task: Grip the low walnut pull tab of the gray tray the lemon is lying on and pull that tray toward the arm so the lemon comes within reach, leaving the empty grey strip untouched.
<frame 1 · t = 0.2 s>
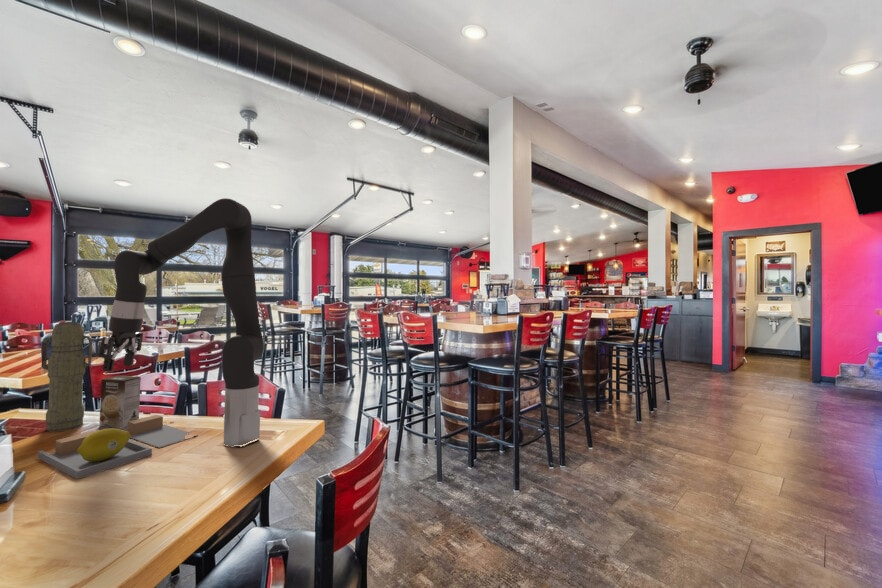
hand: (118, 368, 109), 22 cm above the table, tool pointing down, fingers open, 8 cm apart
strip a: (159, 429, 115), point 2 cm above the table, slide at 0.0 cm
lemon: (104, 459, 97), resting on gray tray
thermos: (64, 427, 121), on the table
gray tray: (95, 449, 99), point 2 cm above the table, slide at 0.0 cm, touching lemon
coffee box: (119, 424, 124), on the table
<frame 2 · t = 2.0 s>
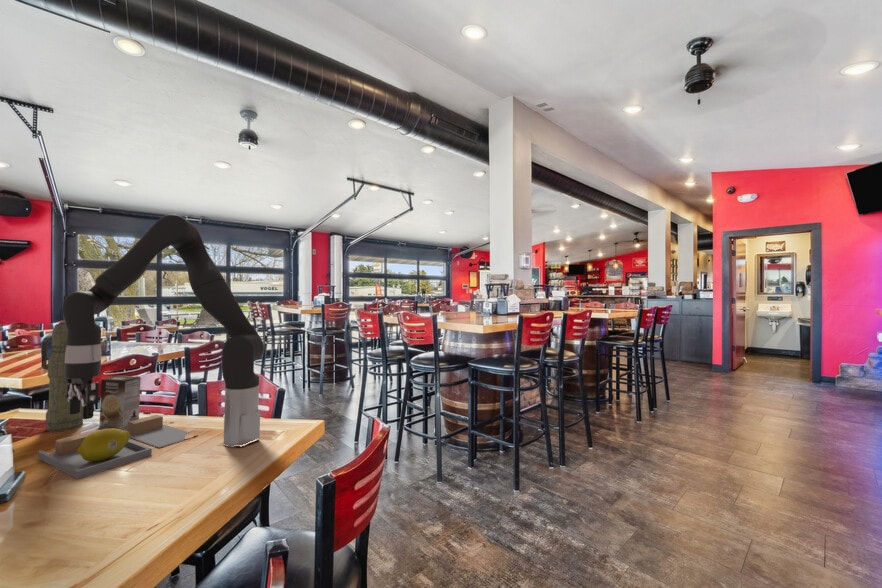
hand: (80, 416, 104), 10 cm above the table, tool pointing down, fingers open, 8 cm apart
nothing on the table moved.
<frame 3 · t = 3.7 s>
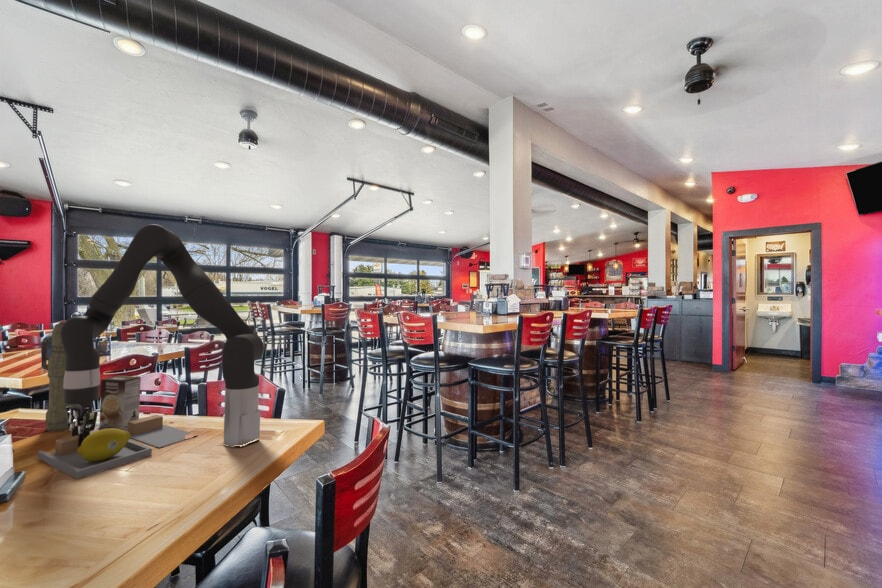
hand: (80, 444, 104), 2 cm above the table, tool pointing down, fingers closed on gray tray, 4 cm apart
gray tray: (95, 449, 99), point 2 cm above the table, slide at 0.0 cm, touching gripper, lemon
everything else where it was.
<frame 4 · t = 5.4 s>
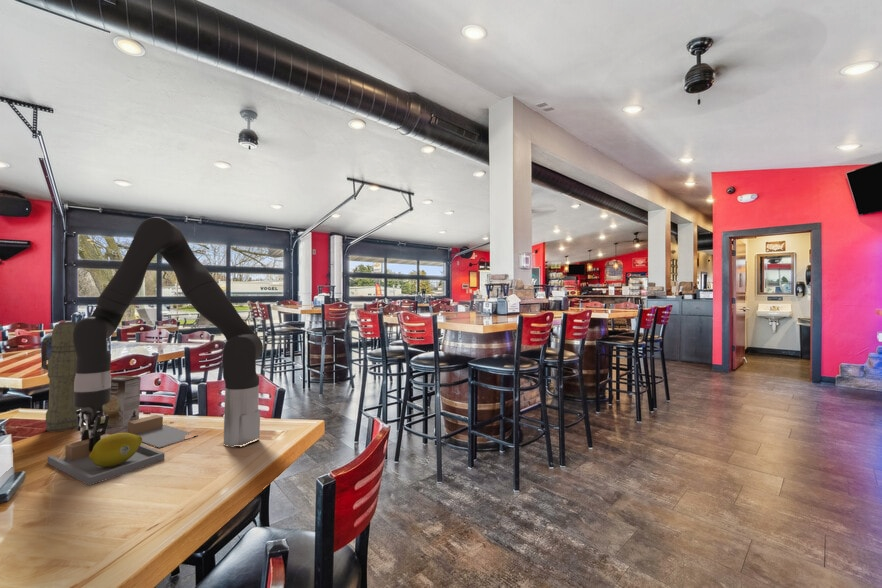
hand: (90, 448, 101), 2 cm above the table, tool pointing down, fingers closed on gray tray, 4 cm apart
lemon: (116, 465, 94), resting on gray tray
gray tray: (107, 454, 97), point 2 cm above the table, slide at 6.5 cm, touching gripper, lemon
everything else where it was.
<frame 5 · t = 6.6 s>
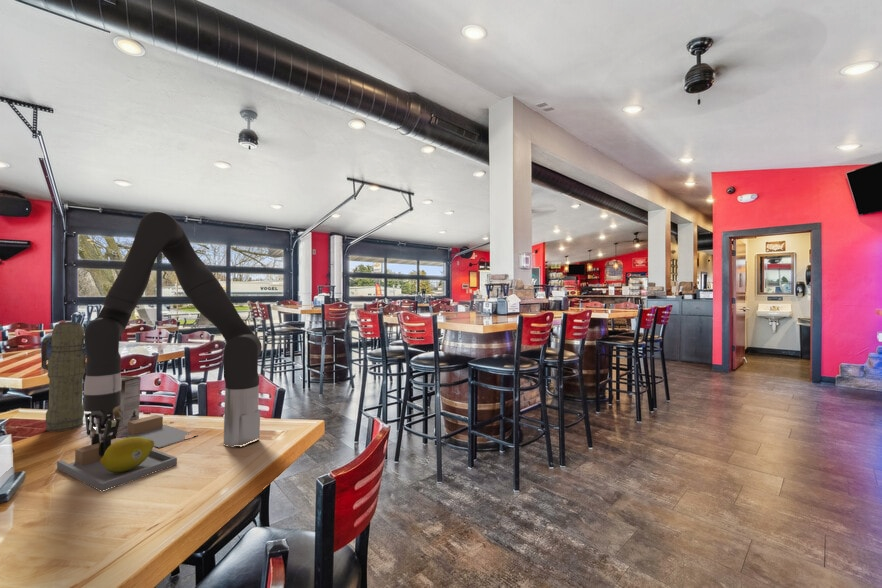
hand: (100, 452, 98), 2 cm above the table, tool pointing down, fingers closed on gray tray, 4 cm apart
lemon: (127, 470, 92), resting on gray tray
gray tray: (118, 459, 94), point 2 cm above the table, slide at 12.4 cm, touching gripper, lemon
everything else where it was.
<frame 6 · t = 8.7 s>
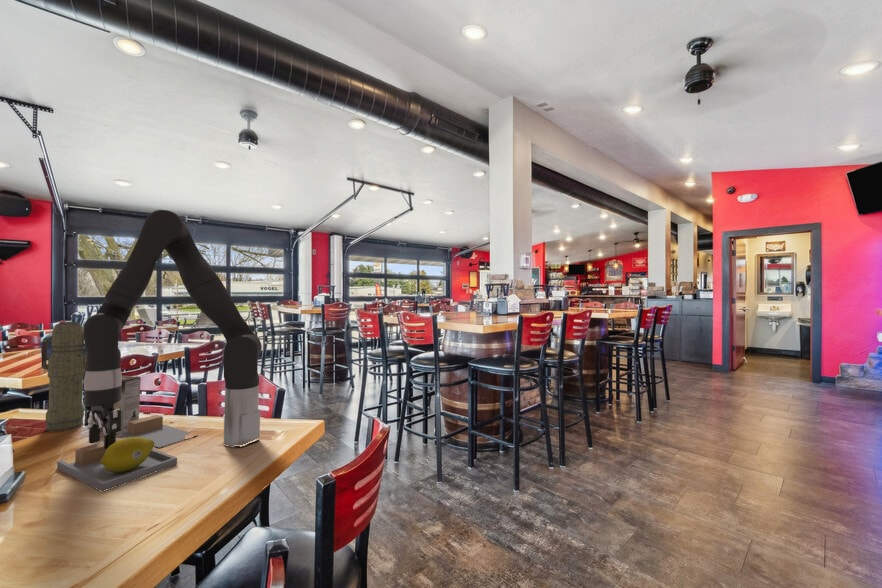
hand: (101, 445, 98), 4 cm above the table, tool pointing down, fingers open, 8 cm apart
gray tray: (118, 459, 94), point 2 cm above the table, slide at 12.5 cm, touching lemon
everything else where it was.
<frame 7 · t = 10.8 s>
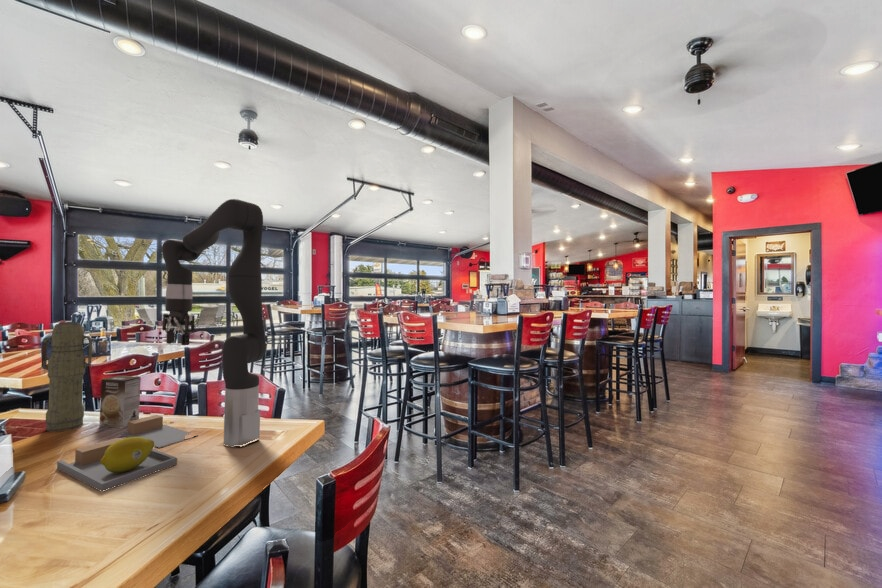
hand: (177, 344, 125), 28 cm above the table, tool pointing down, fingers open, 8 cm apart
nothing on the table moved.
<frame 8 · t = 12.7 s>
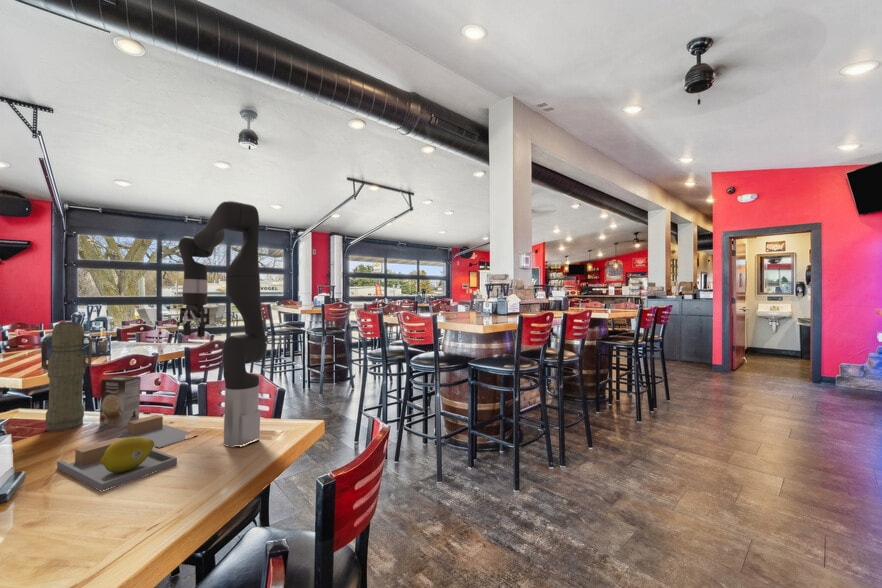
hand: (193, 336, 132), 30 cm above the table, tool pointing down, fingers open, 8 cm apart
nothing on the table moved.
at the end: gray tray slide at 12.4 cm; lemon inside the target area (0.6 cm from its centre), resting on gray tray; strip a slide at 0.0 cm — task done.
